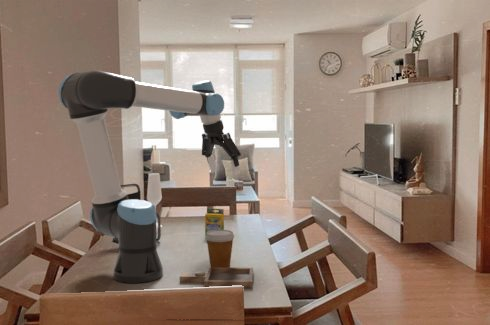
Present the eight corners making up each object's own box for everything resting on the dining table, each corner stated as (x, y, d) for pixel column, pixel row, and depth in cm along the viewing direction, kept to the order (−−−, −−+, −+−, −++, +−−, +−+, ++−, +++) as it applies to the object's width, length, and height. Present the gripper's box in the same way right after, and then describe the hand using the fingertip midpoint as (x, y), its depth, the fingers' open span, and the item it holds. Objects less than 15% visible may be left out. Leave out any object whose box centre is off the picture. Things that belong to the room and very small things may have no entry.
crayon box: (205, 237, 217) (204, 209, 216) (207, 235, 219) (207, 208, 218) (222, 238, 215) (221, 210, 214) (224, 236, 218) (223, 209, 217)
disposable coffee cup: (230, 273, 168) (230, 236, 166) (202, 271, 169) (201, 235, 168) (237, 264, 177) (237, 229, 176) (210, 263, 179) (209, 228, 178)
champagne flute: (144, 226, 237) (143, 174, 235) (154, 224, 243) (153, 172, 241) (155, 228, 234) (154, 175, 231) (165, 225, 239) (164, 173, 237)
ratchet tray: (176, 287, 154) (176, 279, 153) (184, 273, 168) (184, 266, 167) (252, 288, 153) (252, 280, 153) (253, 273, 167) (253, 266, 167)
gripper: (241, 118, 193) (254, 171, 199) (198, 118, 210) (211, 166, 217) (226, 124, 188) (241, 179, 194) (184, 124, 206) (198, 174, 212)
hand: (225, 172), depth 206 cm, fingers open, 13 cm apart
